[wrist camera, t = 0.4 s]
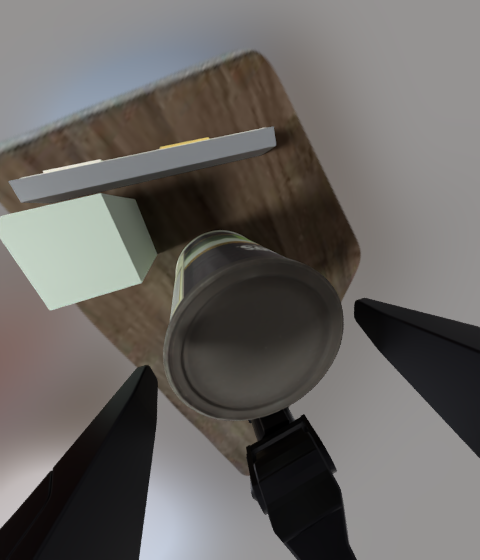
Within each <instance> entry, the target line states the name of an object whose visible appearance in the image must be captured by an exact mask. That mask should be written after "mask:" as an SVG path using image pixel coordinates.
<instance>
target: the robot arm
mask: <svg viewBox="0 0 480 560" xmlns="http://www.w3.org/2000/svg"><path fill="white" fill-rule="evenodd" d="M354 318H355V320H356V322H357V323H358V324H359V325H360V327H361V328H362V329H363V331H364V332H365V333H366V334H367V336H368V337H369V338H370V340H371V341H372V342H373V344H374V345H375V346H376V347H377V349H378V350H379V351H380V352H381V353H382V354H383V355H384V357H385V358H387V360H388V361H389V362H390V363H391V364H392V365H393V366H394V367H395V368H396V369H397V370H398V372H400V374H401V375H402V376H403V377H404V378H405V379H406V380H407V381H408V382H409V383H410V384H411V385H412V386H413V387H414V389H416V391H417V392H418V393H419V394H420V395H421V396H422V397H423V398H424V399H425V400H426V401H427V402H428V404H429V405H430V406H431V407H432V408H433V409H434V410H435V411H436V412H437V413H438V414H439V415H440V416H441V417H442V419H443V420H445V422H446V423H447V424H448V425H449V426H450V427H451V428H452V429H453V430H454V431H455V432H456V433H457V434H458V435H459V437H460V438H461V439H462V440H463V441H464V442H465V443H466V444H467V445H468V446H469V447H470V448H471V449H472V451H473V452H475V454H476V455H477V456H478V457H479V458H480V327H478V326H474V325H470V324H466V323H462V322H458V321H454V320H450V319H446V318H442V317H439V316H435V315H431V314H427V313H423V312H419V311H415V310H411V309H407V308H403V307H399V306H395V305H391V304H387V303H383V302H379V301H375V300H372V299H368V298H362V299H359V300H356V301H355V305H354ZM157 392H158V381H157V378H156V376H155V374H154V373H153V371H152V369H151V368H150V366H148V365H144V366H141V367H138V368H137V369H136V370H135V371H134V372H133V373H132V374H131V376H130V377H129V378H128V379H127V380H126V382H125V383H124V384H123V385H122V386H121V388H120V389H119V390H118V391H117V392H116V394H115V395H114V396H113V397H112V398H111V399H110V401H109V402H108V403H107V404H106V405H105V407H104V408H103V409H102V410H101V411H100V413H99V414H98V415H97V416H96V417H95V419H94V420H93V421H92V422H91V423H90V425H89V426H88V427H87V428H86V429H85V431H84V432H83V433H82V434H81V435H80V437H79V438H78V439H77V440H76V441H75V442H74V444H73V445H72V446H71V447H70V448H69V450H68V451H67V452H66V453H65V454H64V456H63V457H62V458H61V459H60V460H59V461H58V463H57V464H56V465H55V466H54V467H53V471H50V472H49V473H48V474H47V476H46V477H45V478H44V479H43V481H42V482H41V483H40V484H39V485H38V486H37V488H36V489H35V490H34V491H33V492H32V494H31V495H30V496H29V497H28V498H27V499H26V500H25V502H24V503H23V504H22V505H21V506H20V507H19V509H18V510H17V511H16V512H15V513H14V514H13V515H12V517H11V518H10V519H9V520H8V521H7V522H6V523H5V524H4V525H3V527H2V528H1V529H0V560H139V554H140V547H141V539H142V531H143V524H144V516H145V507H146V501H147V492H148V486H149V478H150V470H151V463H152V454H153V447H154V440H155V432H156V423H157V394H158V393H157ZM248 421H249V423H252V425H253V428H254V431H255V435H256V438H257V441H258V442H256V443H254V444H252V445H251V446H250V445H249V446H247V447H246V450H247V454H246V455H247V457H246V458H247V462H248V467H249V473H250V481H251V494H252V497H253V499H255V500H256V501H258V503H259V505H260V507H261V509H262V511H263V513H264V514H265V515H266V514H268V515H269V519H270V521H271V525H272V528H273V530H274V532H275V534H276V535H277V536H278V537H279V538H280V540H281V541H282V542H283V543H284V544H285V546H286V547H287V548H288V549H289V550H290V551H291V553H292V554H293V555H294V556H295V557H296V559H297V560H357V559H356V557H355V555H354V553H353V551H352V549H351V547H350V545H349V539H348V531H347V524H346V517H345V510H344V504H343V498H342V493H341V489H340V487H339V485H338V483H337V481H336V480H335V478H334V476H333V473H335V472H336V471H337V470H336V468H335V465H334V463H333V461H332V459H331V457H330V455H329V454H328V452H327V450H326V448H325V446H324V445H323V443H322V441H321V440H320V438H319V437H318V435H317V434H316V432H315V431H314V429H313V428H312V426H311V424H310V423H309V421H308V420H307V418H306V416H305V415H304V414H303V415H302V416H301V417H300V418H298V419H296V420H294V418H293V416H292V414H291V412H290V410H289V408H288V407H286V408H284V409H282V410H280V411H278V412H275V413H273V414H270V415H267V416H264V417H260V418H256V419H251V420H248Z"/></svg>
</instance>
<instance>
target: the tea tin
mask: <svg viewBox="0 0 480 560" xmlns="http://www.w3.org/2000/svg"><path fill="white" fill-rule="evenodd" d="M0 239H1V240H2V242H3V243H4V245H5V246H6V248H7V249H8V251H9V252H10V253H11V255H12V256H13V258H14V259H15V261H16V262H17V264H18V265H19V266H20V268H21V269H22V271H23V272H24V274H25V275H26V277H27V278H28V280H29V281H30V282H31V284H32V285H33V287H34V288H35V290H36V291H37V293H38V294H39V296H40V297H41V298H42V300H43V301H44V303H45V304H46V306H47V307H48V309H49V310H54V309H57V308H60V307H63V306H66V305H70V304H74V303H77V302H80V301H83V300H87V299H90V298H93V297H97V296H100V295H103V294H107V293H110V292H113V291H116V290H120V289H123V288H126V287H130V286H133V285H136V284H140V283H142V281H143V280H144V278H145V276H146V274H147V272H148V270H149V269H150V267H151V265H152V263H153V261H154V259H155V258H156V256H157V252H156V250H155V247H154V245H153V242H152V240H151V237H150V235H149V232H148V230H147V228H146V225H145V223H144V220H143V218H142V215H141V213H140V210H139V208H138V205H137V203H136V200H135V199H130V198H124V197H119V196H113V195H107V194H102V193H100V194H95V195H91V196H87V197H82V198H78V199H74V200H69V201H65V202H60V203H56V204H52V205H47V206H43V207H39V208H34V209H30V210H25V211H21V212H17V213H12V214H8V215H4V216H0Z"/></svg>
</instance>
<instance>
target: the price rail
mask: <svg viewBox="0 0 480 560" xmlns="http://www.w3.org/2000/svg"><path fill="white" fill-rule="evenodd" d="M275 146H276V140H275V133H274V127H269V128H261V129H257V130H252V131H247V132H242V133H237V134H232V135H227V136H223V137H218V138H213V139H209V137H207V138H202V139H197V140H192V141H187V142H183V143H178V144H173V145H168V146H163V147H160V149H159V150H155V151H150V152H145V153H140V154H135V155H130V156H125V157H121V158H116V159H111V160H106V161H102V160H101V159H99V160H94V161H90V162H85V163H80V164H75V165H70V166H65V167H60V168H55V169H50V170H45V171H43V174H38V175H33V176H28V177H23V178H20V179H17V180H12V181H9V183H10V185H11V186H12V188H13V190H14V191H15V193H16V195H17V196H18V198H19V200H20V201H21V202H27V203H54V202H58V201H62V200H67V199H71V198H76V197H80V196H84V195H89V194H93V193H98V192H102V191H106V190H111V189H115V188H120V187H124V186H128V185H133V184H137V183H142V182H146V181H150V180H155V179H159V178H163V177H168V176H172V175H177V174H181V173H185V172H190V171H194V170H199V169H203V168H207V167H212V166H216V165H221V164H225V163H229V162H234V161H238V160H243V159H247V158H251V157H256V156H260V155H263V154H264V153H266V152H267V151H269V150H270V149H272V148H273V147H275Z"/></svg>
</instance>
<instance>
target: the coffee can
mask: <svg viewBox="0 0 480 560" xmlns="http://www.w3.org/2000/svg"><path fill="white" fill-rule="evenodd" d="M342 334H343V310H342V305H341V302H340V299H339V297H338V294H337V292H336V291H335V289H334V288H333V286H332V285H331V284H330V282H329V281H328V280H327V279H326V278H325V277H324V276H323V275H321V274H320V273H319V272H318V271H316V270H315V269H313V268H311V267H310V266H308V265H306V264H303V263H301V262H298V261H295V260H292V259H289V258H285V257H284V256H281V255H279V254H277V253H275V252H273V251H271V250H269V249H267V248H265V247H263V246H261V245H259V244H257V243H254V242H252V241H250V240H248V239H247V238H245V237H244V236H242V235H240V234H238V233H235V232H231V231H226V230H217V231H210V232H207V233H204V234H202V235H200V236H198V237H196V238H195V239H193V240H192V241H191V242H190V243H189V244H188V245H187V246H186V247H185V248H184V250H183V251H182V253H181V254H180V257H179V259H178V262H177V266H176V279H175V286H174V293H173V301H172V309H171V317H170V323H169V326H168V329H167V332H166V337H165V341H164V349H163V364H164V369H165V374H166V376H167V380H168V382H169V385H170V386H171V388H172V390H173V391H174V393H175V394H176V395H177V397H178V398H179V399H180V400H181V401H182V402H183V403H184V404H185V405H187V406H188V407H189V408H191V409H192V410H194V411H196V412H198V413H200V414H202V415H204V416H207V417H210V418H213V419H218V420H225V421H244V420H251V419H256V418H260V417H264V416H267V415H270V414H273V413H275V412H278V411H280V410H282V409H284V408H286V407H288V406H290V405H291V404H293V403H295V402H296V401H298V400H299V399H301V398H302V397H303V396H304V395H306V394H307V393H308V392H309V391H311V390H312V388H314V387H315V386H316V385H317V384H318V382H319V381H320V380H321V379H322V378H323V376H324V375H325V374H326V372H327V371H328V369H329V368H330V366H331V365H332V363H333V361H334V359H335V357H336V355H337V352H338V350H339V348H340V344H341V340H342Z"/></svg>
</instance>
